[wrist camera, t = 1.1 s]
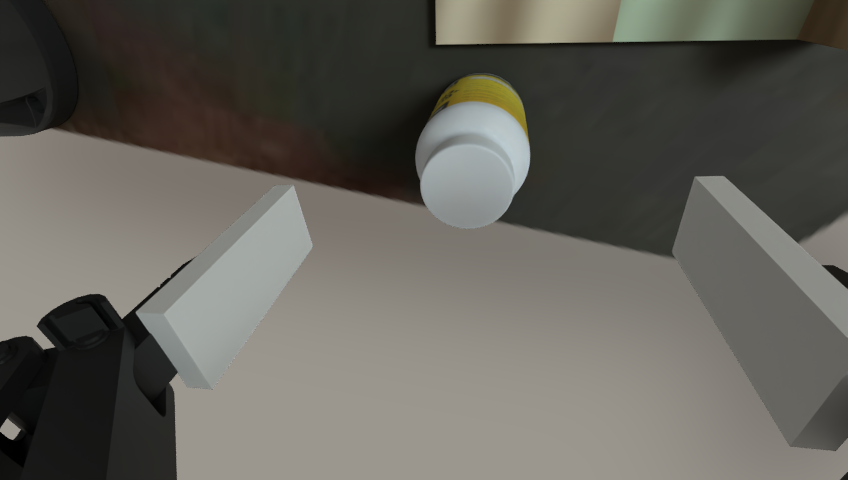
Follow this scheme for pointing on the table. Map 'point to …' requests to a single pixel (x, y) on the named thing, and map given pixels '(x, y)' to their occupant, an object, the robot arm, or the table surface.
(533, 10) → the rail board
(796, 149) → the table surface
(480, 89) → the pill bottle
